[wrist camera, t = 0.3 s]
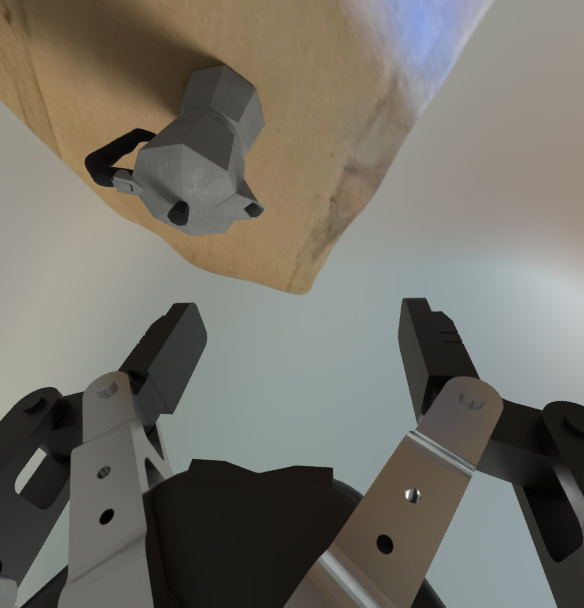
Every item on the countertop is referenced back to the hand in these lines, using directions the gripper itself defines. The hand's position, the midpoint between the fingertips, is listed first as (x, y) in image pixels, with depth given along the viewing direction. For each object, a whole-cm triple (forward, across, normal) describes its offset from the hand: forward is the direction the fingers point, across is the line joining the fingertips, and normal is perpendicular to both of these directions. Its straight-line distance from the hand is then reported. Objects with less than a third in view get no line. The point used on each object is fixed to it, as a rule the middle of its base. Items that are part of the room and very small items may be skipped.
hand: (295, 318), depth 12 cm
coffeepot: (+30, +12, -6) cm, 33 cm away
